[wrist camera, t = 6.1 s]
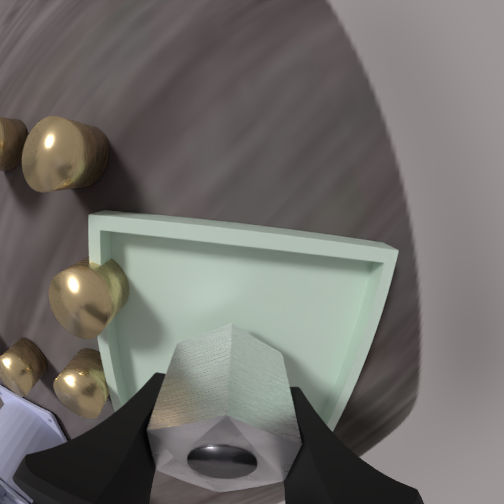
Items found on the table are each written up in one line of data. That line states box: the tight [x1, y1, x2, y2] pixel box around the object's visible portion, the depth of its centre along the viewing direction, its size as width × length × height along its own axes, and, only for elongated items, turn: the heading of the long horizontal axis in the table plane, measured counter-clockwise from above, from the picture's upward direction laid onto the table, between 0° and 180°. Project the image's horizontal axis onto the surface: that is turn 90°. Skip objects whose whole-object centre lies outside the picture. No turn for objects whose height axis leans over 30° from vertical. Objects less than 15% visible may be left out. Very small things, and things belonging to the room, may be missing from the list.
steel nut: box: [147, 323, 302, 492], centre depth 9 cm, size 5×4×5 cm
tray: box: [89, 210, 398, 432], centre depth 13 cm, size 13×13×2 cm
